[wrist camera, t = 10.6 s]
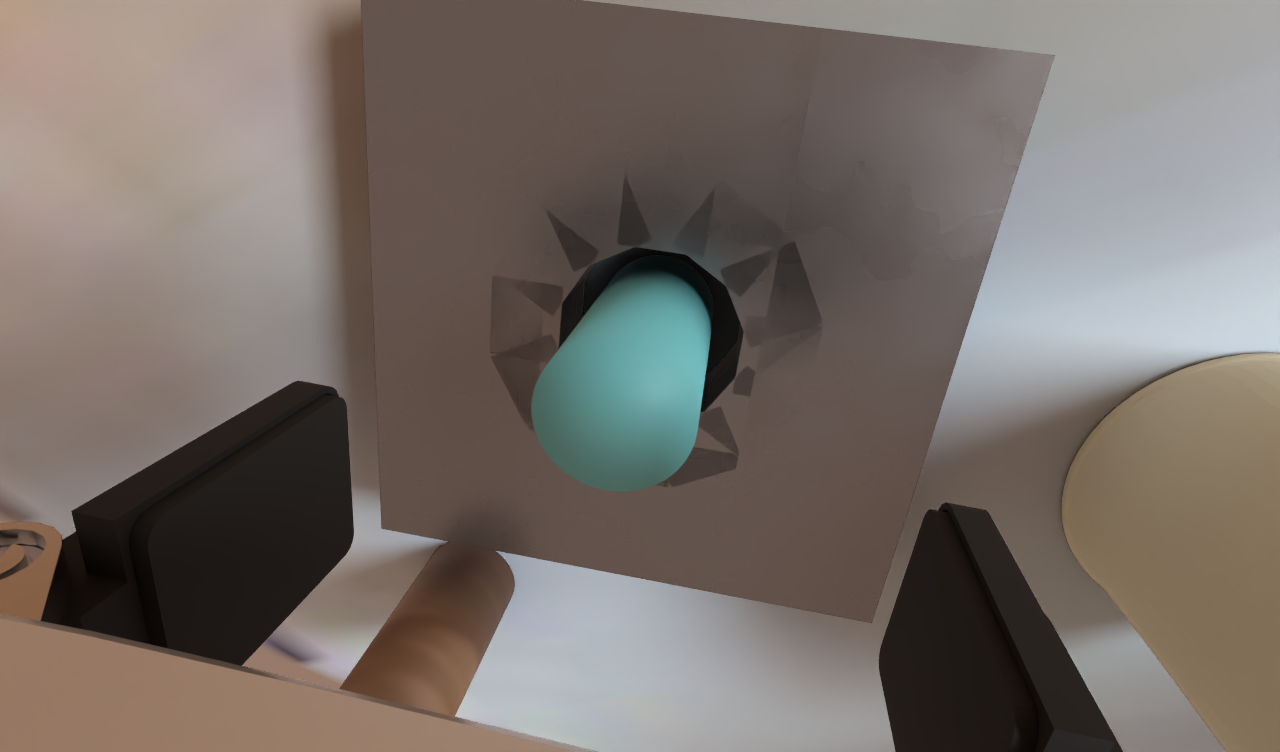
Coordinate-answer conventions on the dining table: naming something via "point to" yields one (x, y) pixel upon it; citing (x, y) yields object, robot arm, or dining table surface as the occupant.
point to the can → (1193, 534)
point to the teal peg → (629, 379)
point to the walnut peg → (437, 631)
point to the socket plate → (711, 236)
